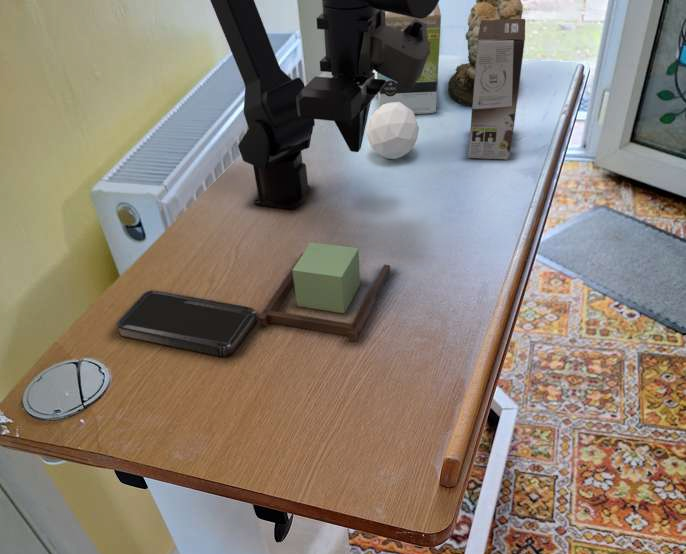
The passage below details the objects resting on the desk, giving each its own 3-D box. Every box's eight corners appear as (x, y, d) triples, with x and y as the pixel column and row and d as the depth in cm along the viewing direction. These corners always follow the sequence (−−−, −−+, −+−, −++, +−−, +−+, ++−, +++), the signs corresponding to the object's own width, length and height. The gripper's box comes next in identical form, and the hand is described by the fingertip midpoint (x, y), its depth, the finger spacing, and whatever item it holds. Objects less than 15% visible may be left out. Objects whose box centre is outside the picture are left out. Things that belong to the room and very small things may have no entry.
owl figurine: (451, 68, 126) (457, -42, 114) (515, 68, 124) (529, -44, 112) (444, 107, 115) (450, -11, 102) (515, 108, 113) (530, -12, 100)
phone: (227, 350, 73) (112, 326, 77) (229, 358, 74) (115, 334, 78) (258, 308, 78) (148, 288, 82) (260, 316, 78) (151, 295, 83)
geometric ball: (406, 171, 106) (437, 133, 100) (368, 169, 101) (399, 129, 95) (386, 132, 107) (416, 92, 101) (348, 128, 103) (377, 86, 96)
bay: (259, 325, 77) (258, 317, 77) (303, 261, 86) (302, 253, 85) (354, 342, 74) (354, 333, 73) (390, 273, 83) (390, 264, 82)
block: (297, 306, 79) (291, 269, 76) (314, 278, 83) (310, 241, 79) (344, 313, 78) (341, 276, 74) (360, 284, 82) (358, 248, 78)
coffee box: (510, 160, 100) (525, 39, 88) (467, 159, 102) (476, 39, 90) (512, 134, 106) (527, 17, 94) (471, 133, 108) (480, 17, 95)
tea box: (438, 114, 113) (442, 12, 102) (378, 117, 114) (376, 17, 103) (431, 80, 123) (434, -15, 112) (377, 84, 124) (374, -11, 113)
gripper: (395, 36, 62) (395, 195, 74) (447, -22, 73) (440, 125, 85) (286, 29, 65) (302, 183, 77) (352, -26, 76) (357, 116, 88)
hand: (355, 150), depth 82 cm, fingers closed
